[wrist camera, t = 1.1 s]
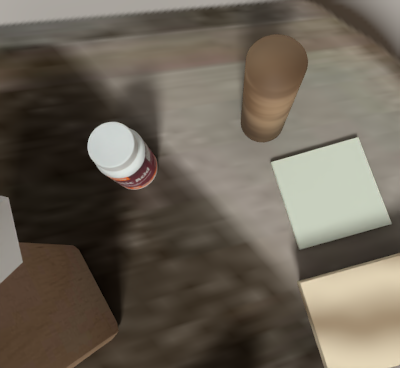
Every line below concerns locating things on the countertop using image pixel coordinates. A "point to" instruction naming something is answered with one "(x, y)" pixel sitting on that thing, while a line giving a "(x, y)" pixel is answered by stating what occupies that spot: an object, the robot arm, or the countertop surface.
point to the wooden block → (52, 310)
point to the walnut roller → (271, 85)
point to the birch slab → (356, 314)
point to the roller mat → (330, 193)
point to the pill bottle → (122, 155)
